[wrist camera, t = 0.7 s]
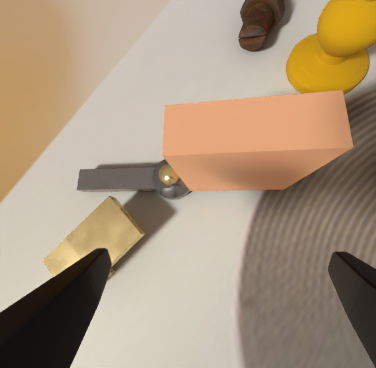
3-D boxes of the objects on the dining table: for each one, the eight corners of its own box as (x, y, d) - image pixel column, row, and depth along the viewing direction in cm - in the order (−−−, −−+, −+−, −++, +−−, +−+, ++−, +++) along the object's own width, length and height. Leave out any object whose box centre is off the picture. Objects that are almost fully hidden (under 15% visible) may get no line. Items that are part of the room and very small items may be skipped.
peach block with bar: (280, 198, 19) (356, 161, 9) (82, 200, 23) (-39, 175, 12) (277, 157, 20) (340, 77, 10) (87, 164, 24) (-21, 112, 13)
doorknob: (274, 55, 24) (340, 30, 23) (304, 109, 22) (377, 82, 21) (298, -19, 17) (394, -59, 16) (345, 50, 15) (458, 7, 14)
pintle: (180, 185, 20) (178, 183, 19) (161, 186, 20) (158, 183, 19) (180, 167, 20) (178, 163, 19) (162, 167, 21) (159, 164, 20)
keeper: (126, 201, 23) (109, 195, 19) (153, 232, 21) (140, 233, 18) (70, 255, 22) (42, 260, 19) (94, 291, 21) (69, 303, 17)
